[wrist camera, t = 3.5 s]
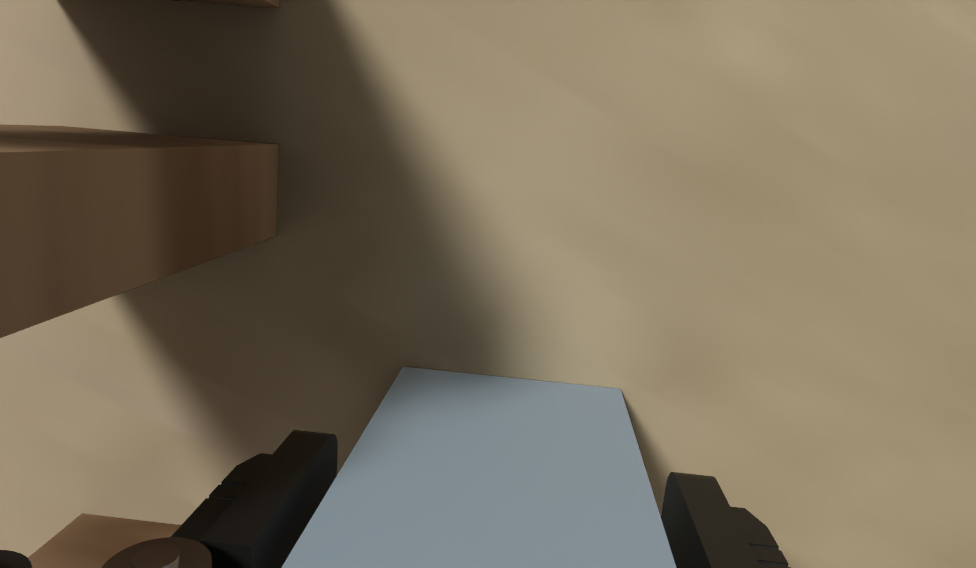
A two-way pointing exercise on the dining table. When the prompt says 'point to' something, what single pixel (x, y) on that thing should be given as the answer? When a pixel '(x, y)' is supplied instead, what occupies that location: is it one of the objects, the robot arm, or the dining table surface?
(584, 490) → the tile
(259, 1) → the tile
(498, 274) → the dining table surface
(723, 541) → the robot arm
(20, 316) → the tile
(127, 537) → the tile
